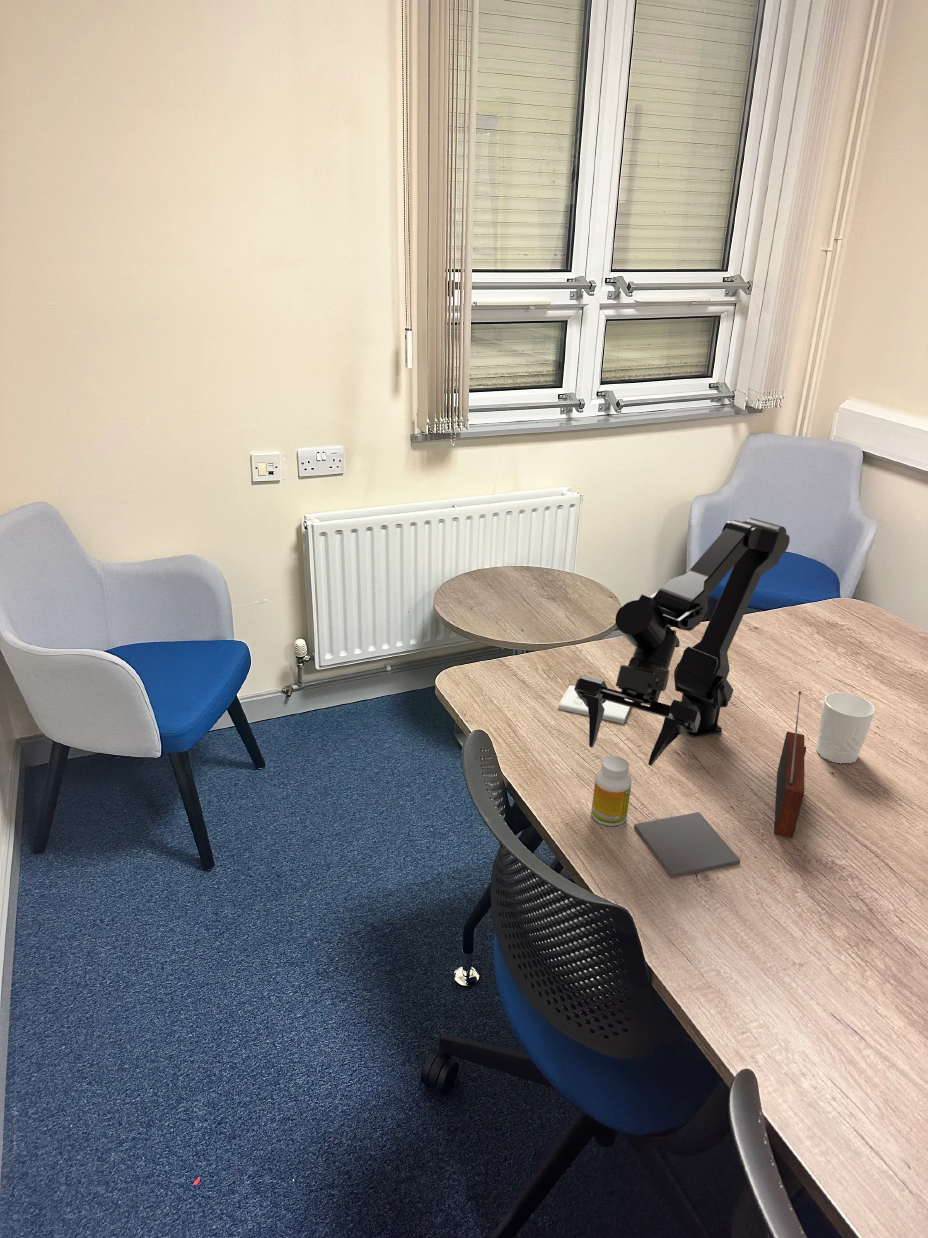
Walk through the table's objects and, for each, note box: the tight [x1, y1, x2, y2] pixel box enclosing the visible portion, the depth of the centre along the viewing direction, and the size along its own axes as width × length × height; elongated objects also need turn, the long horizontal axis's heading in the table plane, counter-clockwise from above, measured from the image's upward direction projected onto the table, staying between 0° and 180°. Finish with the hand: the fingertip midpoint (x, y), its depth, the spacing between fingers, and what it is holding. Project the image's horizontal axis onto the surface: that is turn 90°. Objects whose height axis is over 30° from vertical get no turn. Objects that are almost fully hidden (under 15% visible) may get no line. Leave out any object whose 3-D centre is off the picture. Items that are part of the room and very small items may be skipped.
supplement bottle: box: [590, 755, 633, 827], centre depth 125 cm, size 5×5×10 cm
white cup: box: [815, 691, 876, 765], centre depth 143 cm, size 8×8×10 cm
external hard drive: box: [557, 685, 633, 725], centre depth 156 cm, size 2×8×12 cm
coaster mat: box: [633, 811, 741, 878], centre depth 122 cm, size 11×11×1 cm
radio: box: [773, 691, 807, 839], centre depth 129 cm, size 19×3×15 cm, turn 160°
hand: (619, 755), depth 125 cm, fingers open, 9 cm apart
